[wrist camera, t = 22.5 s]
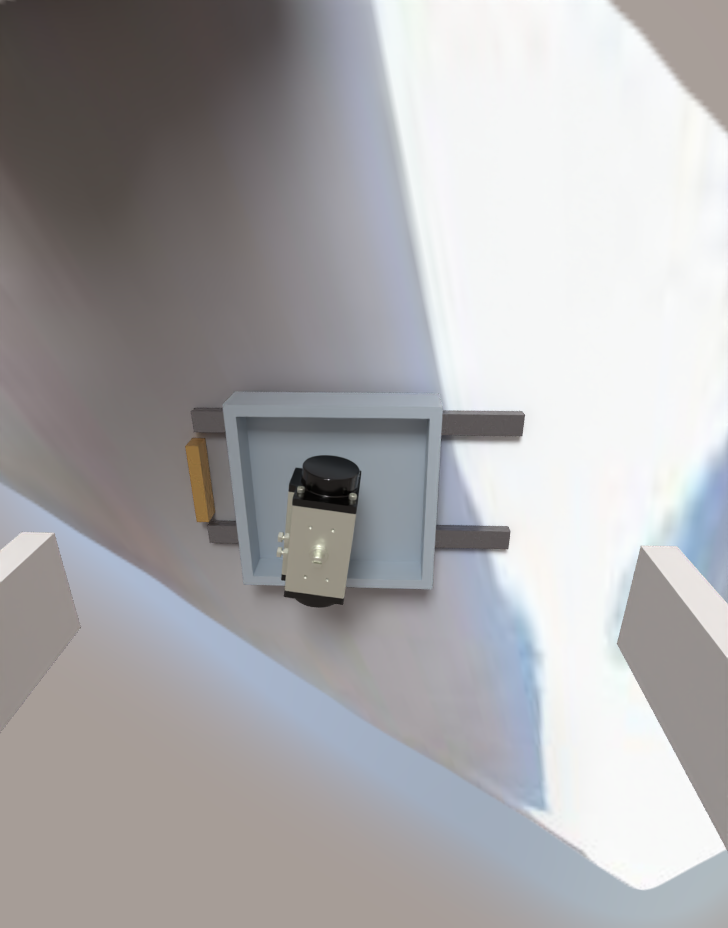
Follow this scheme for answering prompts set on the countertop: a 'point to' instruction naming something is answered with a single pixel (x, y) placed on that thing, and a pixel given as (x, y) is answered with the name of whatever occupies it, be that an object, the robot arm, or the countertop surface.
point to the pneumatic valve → (319, 530)
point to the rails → (451, 425)
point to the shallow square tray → (357, 439)
